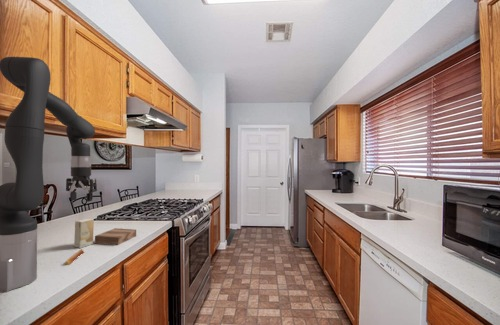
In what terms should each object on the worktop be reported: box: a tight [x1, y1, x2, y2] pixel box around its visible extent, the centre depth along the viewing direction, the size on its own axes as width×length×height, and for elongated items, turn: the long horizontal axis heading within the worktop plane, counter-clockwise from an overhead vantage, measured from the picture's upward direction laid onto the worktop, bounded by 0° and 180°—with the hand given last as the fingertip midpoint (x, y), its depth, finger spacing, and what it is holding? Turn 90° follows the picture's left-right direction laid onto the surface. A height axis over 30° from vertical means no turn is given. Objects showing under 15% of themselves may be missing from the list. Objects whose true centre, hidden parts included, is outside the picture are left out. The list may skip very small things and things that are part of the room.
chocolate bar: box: [63, 248, 85, 266], centre depth 91 cm, size 3×12×2 cm, turn 15°
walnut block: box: [94, 227, 137, 246], centre depth 114 cm, size 13×13×4 cm
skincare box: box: [73, 218, 95, 249], centre depth 106 cm, size 6×4×12 cm
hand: (81, 200), depth 102 cm, fingers open, 8 cm apart
